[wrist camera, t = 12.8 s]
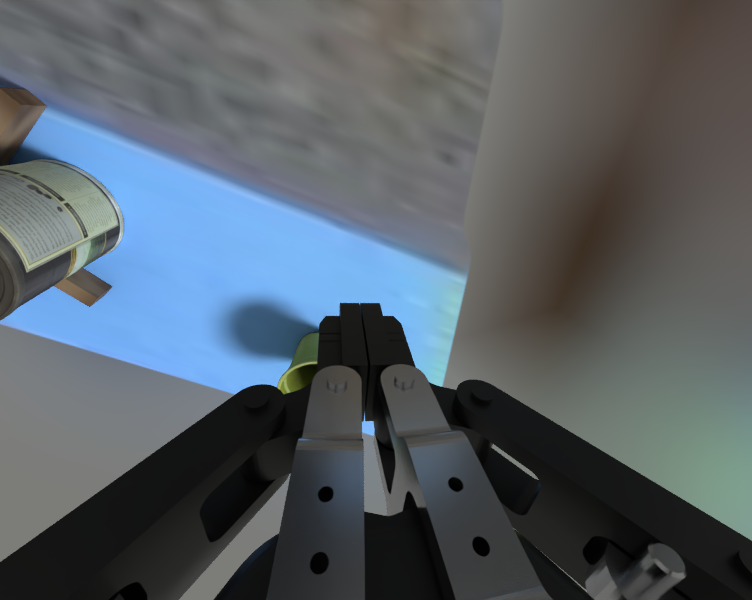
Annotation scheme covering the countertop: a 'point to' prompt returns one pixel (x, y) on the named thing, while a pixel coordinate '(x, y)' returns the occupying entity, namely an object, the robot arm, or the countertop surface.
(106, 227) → the coffee can
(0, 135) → the bracket
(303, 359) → the plant pot
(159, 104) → the countertop surface
